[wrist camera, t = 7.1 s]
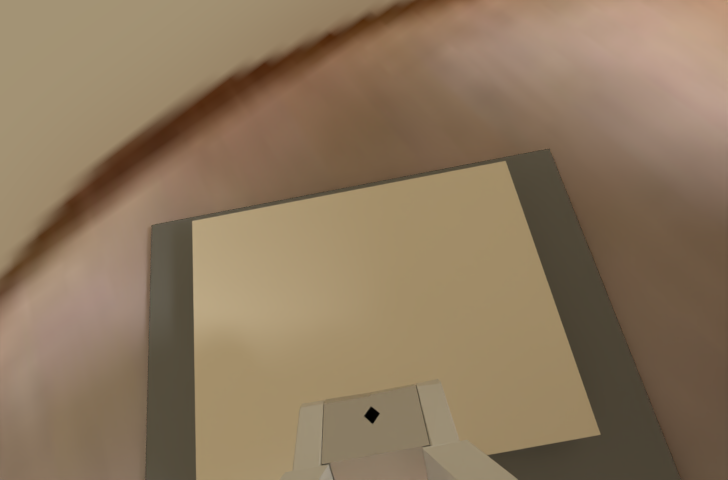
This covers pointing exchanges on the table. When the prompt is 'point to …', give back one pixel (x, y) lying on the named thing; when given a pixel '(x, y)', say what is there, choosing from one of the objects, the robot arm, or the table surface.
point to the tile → (378, 318)
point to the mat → (529, 465)
